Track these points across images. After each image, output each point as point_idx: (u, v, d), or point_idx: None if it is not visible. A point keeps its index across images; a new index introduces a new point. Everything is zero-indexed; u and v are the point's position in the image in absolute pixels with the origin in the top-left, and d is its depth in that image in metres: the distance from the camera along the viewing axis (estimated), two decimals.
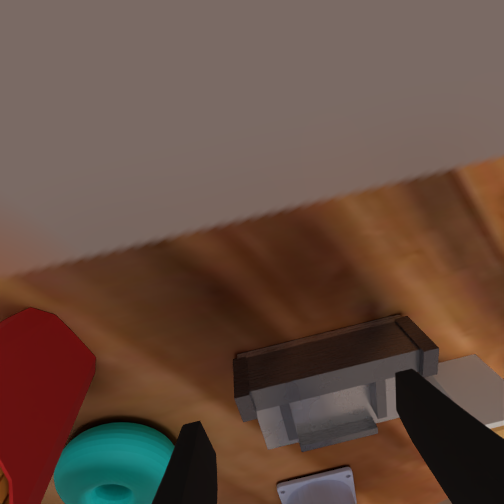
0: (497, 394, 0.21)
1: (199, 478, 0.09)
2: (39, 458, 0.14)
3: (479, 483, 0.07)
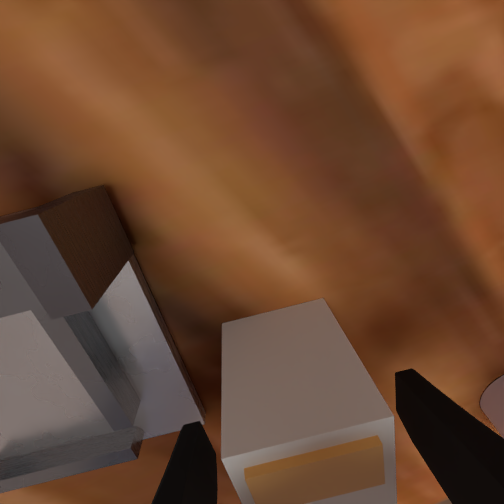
0: (321, 372, 0.09)
1: (199, 478, 0.09)
2: None
3: (479, 483, 0.07)
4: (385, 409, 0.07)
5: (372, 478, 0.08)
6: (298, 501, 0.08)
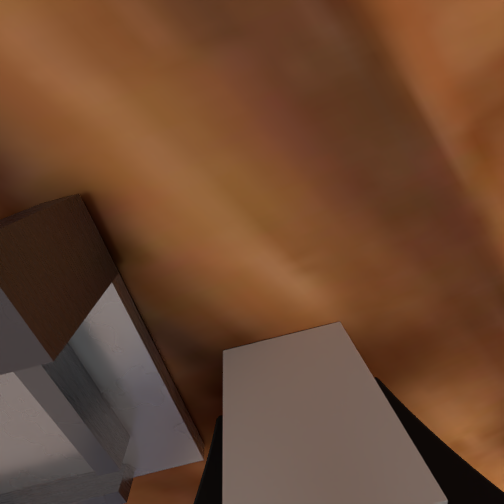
0: (345, 426, 0.07)
1: None
2: None
3: None
4: (434, 488, 0.06)
5: None
6: None
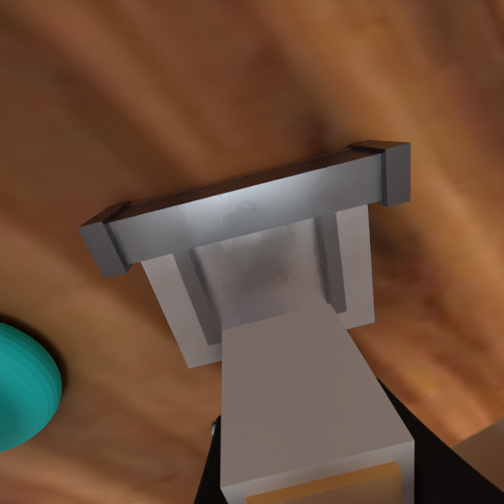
0: (330, 388, 0.08)
1: None
2: None
3: (427, 496, 0.07)
4: (403, 432, 0.06)
5: None
6: None
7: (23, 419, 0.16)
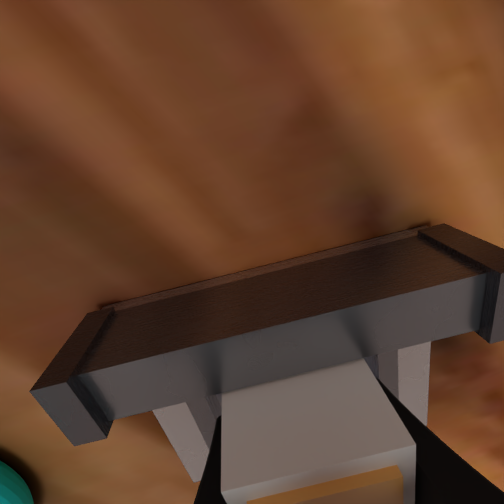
0: (331, 390, 0.08)
1: None
2: None
3: (427, 496, 0.07)
4: (405, 436, 0.06)
5: None
6: None
7: None
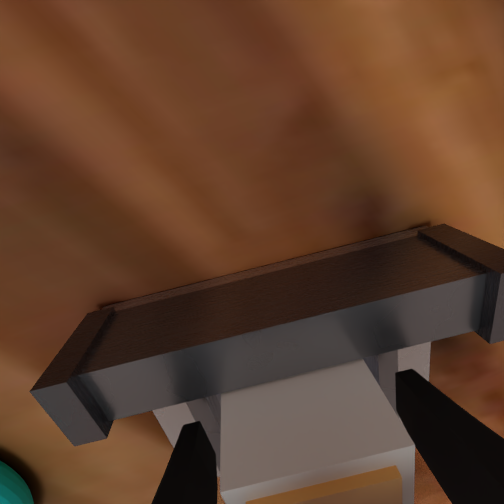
0: (330, 391, 0.08)
1: (199, 478, 0.09)
2: None
3: (479, 483, 0.07)
4: (403, 436, 0.06)
5: None
6: None
7: None
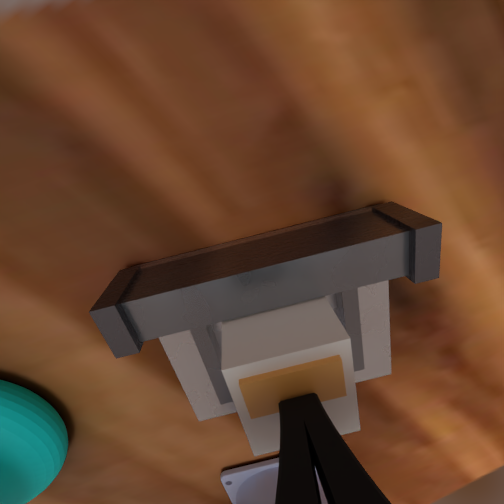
0: (299, 315, 0.11)
1: (310, 451, 0.09)
2: None
3: None
4: (344, 335, 0.10)
5: (336, 390, 0.10)
6: None
7: (29, 483, 0.16)
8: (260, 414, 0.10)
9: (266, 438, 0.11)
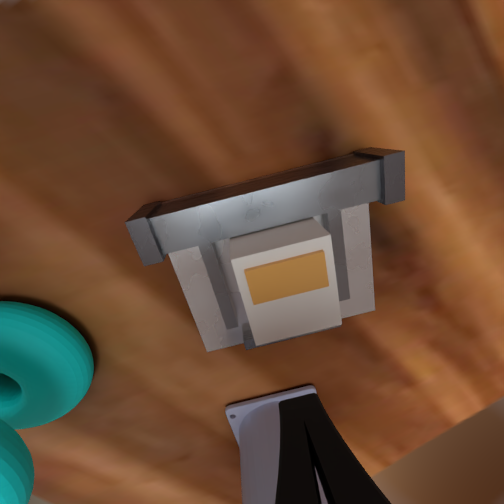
0: (292, 228, 0.14)
1: (310, 451, 0.09)
2: None
3: None
4: (326, 233, 0.12)
5: (320, 280, 0.13)
6: (276, 295, 0.13)
7: (63, 394, 0.18)
8: (260, 301, 0.13)
9: (265, 327, 0.14)
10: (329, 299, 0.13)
